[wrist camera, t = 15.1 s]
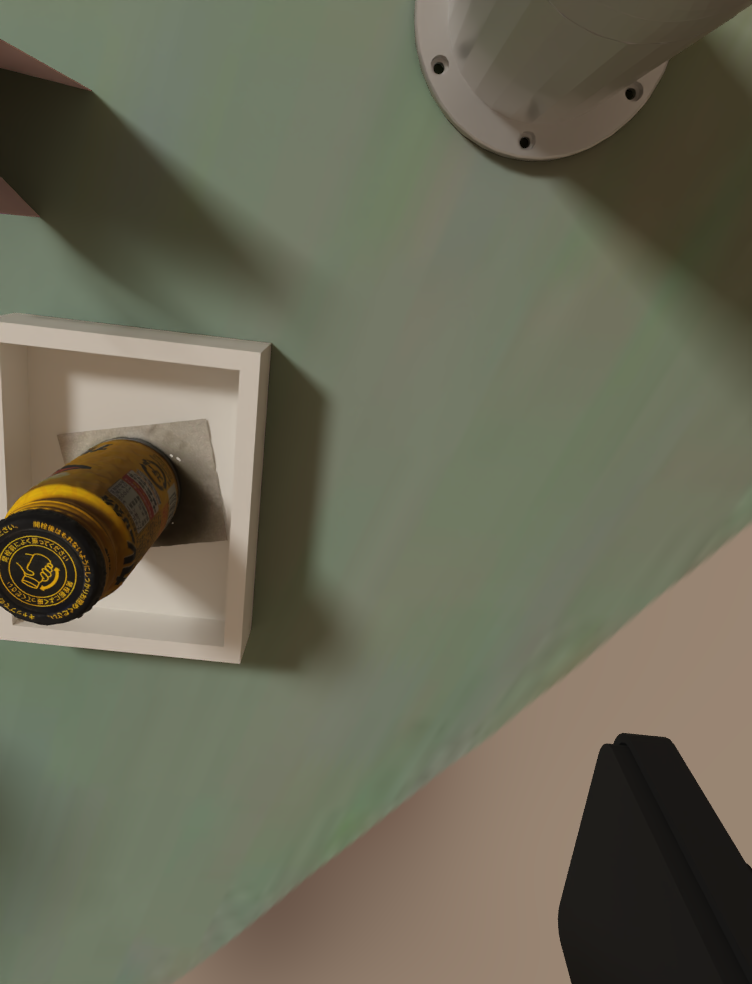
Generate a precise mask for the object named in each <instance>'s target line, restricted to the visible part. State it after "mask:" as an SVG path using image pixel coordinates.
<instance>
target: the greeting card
mask: <svg viewBox="0 0 752 984" xmlns="http://www.w3.org/2000/svg"><path fill="white" fill-rule="evenodd" d="M0 68H2V69H6V70H10V71H14V72H18V73H22V74H26V75H30V76H34V77H38V78H42V79H46V80H50V81H54V82H57V83H61V84H65V85H69V86H73V87H77V88H81V89H85V90H89V91H92V90H90V89H88V88H87V87H85V86H83V85H81V84H80V83H78V82H76V81H74V80H72V79H71V78H69V77H67V76H65V75H64V74H62V73H60V72H58V71H56V70H55V69H53V68H51V67H49V66H48V65H46V64H44V63H42V62H40V61H39V60H37V59H35V58H33V57H32V56H30V55H28V54H26V53H24V52H23V51H21V50H19V49H17V48H16V47H14V46H12V45H10V44H8V43H7V42H5V41H3V40H1V39H0ZM0 214H11V215H21V216H31V217H40V216H39V215H38V214H37V213H36V212H35V211H34V210H33V209H32V208H31V207H30V206H29V205H28V204H27V203H26V202H25V201H24V200H23V199H22V198H21V197H20V196H19V195H18V194H17V193H16V192H15V191H14V190H13V189H12V188H11V187H10V186H9V185H8V184H7V183H6V181H5V180H4V179H3V178H2V177H1V176H0Z"/></svg>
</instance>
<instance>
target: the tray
mask: <svg viewBox="0 0 752 984" xmlns="http://www.w3.org/2000/svg"><path fill="white" fill-rule="evenodd" d="M271 345H272V343H266V342H258V341H249V340H241V339H233V338H224V337H216V336H207V335H199V334H190V333H182V332H174V331H165V330H157V329H148V328H140V327H132V326H123V325H115V324H106V323H98V322H89V321H81V320H73V319H64V318H56V317H47V316H39V315H31V314H22V313H12V314H6V315H0V520H1V519H5V516H6V514H7V513H8V511H9V510H10V508H11V507H12V506H13V504H14V503H15V502H16V501H17V500H18V499H19V498H20V497H21V496H22V495H23V494H25V493H26V492H27V491H29V490H30V489H31V488H32V487H34V486H36V485H37V484H38V483H39V482H41V481H43V480H44V479H46V478H47V477H49V476H51V475H52V474H53V473H54V472H56V471H57V470H59V469H61V468H62V467H63V466H65V464H64V460H63V456H62V453H61V449H60V445H59V441H58V438H57V435H59V434H65V433H74V432H84V431H92V430H102V429H111V428H120V427H130V426H141V425H152V424H161V423H171V422H178V421H189V420H197V419H206V423H207V429H208V434H209V439H210V443H211V449H212V455H213V460H214V465H215V468H216V476H217V481H218V486H219V492H220V497H221V504H222V509H223V514H224V520H225V528H226V533H227V539H228V540H225V541H215V542H202V543H190V544H181V545H173V546H160V547H150V549H149V550H148V551H147V552H146V554H145V555H144V556H143V558H142V560H140V562H139V563H138V564H137V565H136V567H135V568H134V570H133V571H132V572H131V573H130V575H129V576H128V577H127V579H126V580H125V581H124V582H123V584H122V585H121V586H120V587H119V588H118V589H117V590H115V591H114V592H113V593H111V594H110V595H108V596H107V597H105V598H103V599H101V600H100V601H98V602H97V603H96V605H93V607H92V609H91V610H90V611H88V612H86V613H84V614H83V616H82V617H81V618H79V619H78V618H76V619H74V620H71V621H69V622H66V623H62V624H55V625H48V626H46V625H39V624H36V623H32V622H28V621H25V620H22V619H18V618H16V617H14V616H13V615H12V614H11V613H9V612H7V611H6V610H5V609H4V608H2V607H1V606H0V639H1V640H11V641H21V642H31V643H41V644H50V645H60V646H70V647H80V648H90V649H100V650H109V651H119V652H129V653H139V654H149V655H158V656H168V657H178V658H188V659H198V660H208V661H217V662H227V663H237V664H240V662H241V659H242V656H243V653H244V650H245V647H246V644H247V641H248V638H249V635H250V632H251V626H252V612H253V598H254V584H255V570H256V556H257V542H258V528H259V513H260V499H261V485H262V471H263V457H264V443H265V429H266V415H267V401H268V387H269V373H270V359H271ZM170 456H171V457H173V455H172V454H170ZM176 459H177V460H179V461H181V460H180V459H179V458H178V457H177V458H176ZM172 524H173V522H172Z"/></svg>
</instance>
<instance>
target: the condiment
mask: <svg viewBox="0 0 752 984" xmlns="http://www.w3.org/2000/svg"><path fill="white" fill-rule="evenodd" d="M57 438H58V441H59V445H60V449H61V453H62V456H63V460H64V464H65V466H63V467H62V468H61V469H59V470H57V471H56V472H54V473H53V474H52V475H51V476H49V477H47V478H46V479H44V480H43V481H41V482H39V483H38V484H37V485H36V486H34V487H32V488H31V489H30V490H29V491H27V492H26V493H25V494H23V495H22V496H21V497H20V498H19V499H18V500H17V501H16V502H15V503H14V504H13V506H12V507H11V508H10V510H9V511H8V513H7V514H6V516H5V519H1V520H0V606H1V607H2V608H4V609H5V610H6V611H7V612H9V613H11V614H12V615H13V616H14V617H16V618H18V619H22V620H25V621H28V622H32V623H36V624H39V625H46V626H48V625H55V624H62V623H66V622H69V621H71V620H74V619H76V618H78V619H79V618H81V617H82V616H83V614H84V613H86V612H88V611H90V610H91V609H92V607H93V605H96V603H97V602H98V601H100V600H101V599H103V598H105V597H107V596H108V595H110V594H111V593H113V592H114V591H115V590H117V589H118V588H119V587H120V586H121V585H122V584H123V582H124V581H125V580H126V579H127V577H128V576H129V575H130V573H131V572H132V571H133V570H134V568H135V567H136V565H137V564H138V563H139V562H140V560H142V558H143V556H144V555H145V554H146V552H147V551H148V550H149V549H150V547H160V546H173V545H181V544H190V543H202V542H215V541H225V540H228V539H227V533H226V528H225V520H224V514H223V509H222V504H221V497H220V492H219V486H218V481H217V476H216V468H215V465H214V460H213V455H212V449H211V443H210V439H209V434H208V429H207V423H206V419H197V420H189V421H178V422H171V423H161V424H152V425H141V426H130V427H120V428H111V429H102V430H92V431H84V432H74V433H65V434H59V435H57ZM170 454H172V455H173V457H171V456H170ZM177 457H178V458H179V459H180V460H181V461H179V460H177V459H176V458H177ZM172 522H173V524H172Z"/></svg>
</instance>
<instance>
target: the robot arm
mask: <svg viewBox="0 0 752 984" xmlns="http://www.w3.org/2000/svg"><path fill="white" fill-rule="evenodd" d="M750 5H752V0H415V9H414V29H415V45H416V49H417V54H418V59H419V63H420V68H421V71H422V74H423V76H424V79H425V81H426V84H427V86H428V88H429V91H430V93H431V96H432V97H433V99H434V100H435V102H436V103H437V105H438V106H439V108H440V109H441V111H442V113H443V114H444V116H445V117H446V118H447V119H448V120H449V121H450V122H451V123H452V124H453V125H454V126H455V127H456V128H457V129H458V130H459V132H460V133H461V134H462V135H464V136H465V137H467V138H468V139H470V140H471V141H473V142H474V143H476V144H477V145H478V146H480V147H481V148H483V149H486V150H488V151H491V152H493V153H495V154H498V155H500V156H503V157H507V158H512V159H518V160H523V161H550V160H554V159H559V158H563V157H567V156H571V155H575V154H577V153H579V152H581V151H584V150H586V149H589V148H591V147H593V146H595V145H596V144H598V143H600V142H601V141H603V140H605V139H606V138H608V137H610V136H612V135H613V134H614V133H615V132H616V131H618V130H619V129H620V128H621V127H622V126H624V125H625V124H626V123H627V122H628V121H629V120H631V119H632V118H633V117H634V116H635V114H636V113H637V112H638V111H639V110H640V109H641V108H642V106H643V105H644V104H645V103H646V102H647V100H648V99H649V98H650V96H651V94H652V93H653V91H654V89H655V88H656V86H657V84H658V82H659V81H660V79H661V77H662V76H663V74H664V72H665V69H666V67H667V64H668V62H669V59H670V58H672V57H673V56H675V55H677V54H678V53H680V52H681V51H683V50H684V49H686V48H687V47H689V46H690V45H692V44H693V43H695V42H696V41H698V40H700V39H701V38H703V37H704V36H706V35H707V34H709V33H710V32H712V31H713V30H715V29H716V28H718V27H719V26H721V25H723V24H724V23H726V22H727V21H729V20H730V19H732V18H733V17H734V16H736V15H737V14H738V13H740V12H741V11H743V10H744V9H746V8H747V7H749V6H750ZM436 64H440V65H442V66H443V69H444V72H443V73H442V74H436V73H435V72H434V68H433V67H434V66H435V65H436ZM626 90H631V91H632V93H633V97H632V99H631V100H628V99H627V98H626V96H625V92H626ZM521 138H526V139H527V140H528V143H529V145H528V147H527V148H522V147H521V146H520V140H521ZM558 928H559V937H560V942H561V946H562V949H563V953H564V957H565V961H566V964H567V968H568V972H569V976H570V979H571V983H572V984H752V868H751V867H750V866H749V865H748V864H746V862H745V861H744V859H743V858H742V856H741V854H740V853H739V851H738V849H737V848H736V846H735V844H734V843H733V841H732V840H731V838H730V836H729V835H728V833H727V831H726V830H725V828H724V826H723V824H722V823H721V821H720V820H719V818H718V816H717V815H716V813H715V811H714V810H713V808H712V806H711V805H710V803H709V801H708V800H707V798H706V797H705V795H704V793H703V791H702V790H701V788H700V787H699V785H698V783H697V782H696V780H695V778H694V777H693V775H692V773H691V772H690V770H689V769H688V767H687V765H686V763H685V762H684V760H683V758H682V757H681V755H680V754H679V752H678V750H677V748H676V747H675V745H674V744H673V743H672V741H671V740H670V739H668V738H666V737H658V736H648V735H638V734H627V733H622V734H619V735H618V736H617V738H616V739H615V741H614V744H604V745H603V746H602V747H601V749H600V752H599V755H598V759H597V763H596V766H595V770H594V774H593V778H592V782H591V786H590V789H589V793H588V797H587V801H586V805H585V809H584V813H583V816H582V820H581V824H580V828H579V832H578V836H577V840H576V843H575V847H574V851H573V855H572V859H571V863H570V867H569V871H568V874H567V879H566V882H565V886H564V890H563V894H562V898H561V901H560V906H559V913H558Z"/></svg>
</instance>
